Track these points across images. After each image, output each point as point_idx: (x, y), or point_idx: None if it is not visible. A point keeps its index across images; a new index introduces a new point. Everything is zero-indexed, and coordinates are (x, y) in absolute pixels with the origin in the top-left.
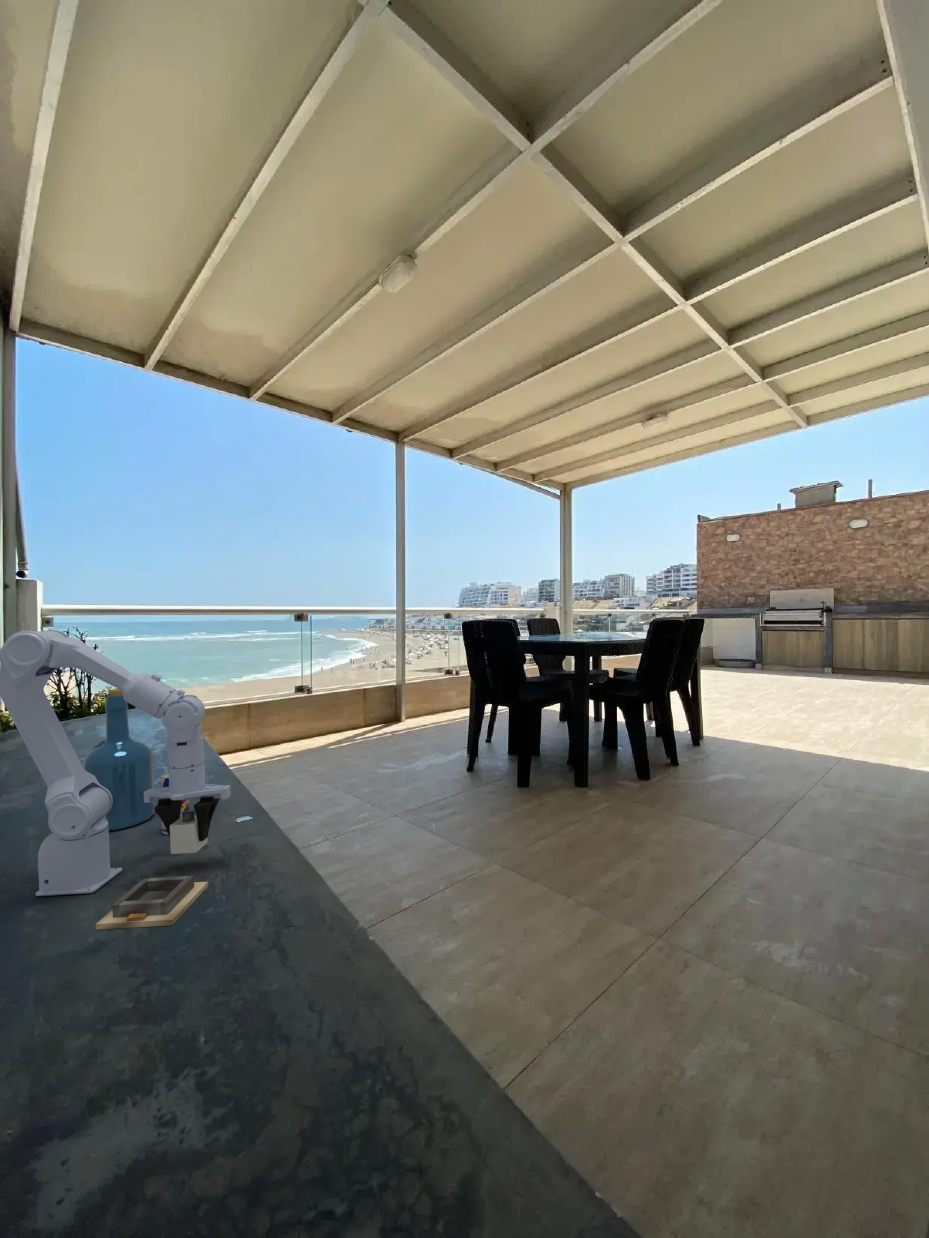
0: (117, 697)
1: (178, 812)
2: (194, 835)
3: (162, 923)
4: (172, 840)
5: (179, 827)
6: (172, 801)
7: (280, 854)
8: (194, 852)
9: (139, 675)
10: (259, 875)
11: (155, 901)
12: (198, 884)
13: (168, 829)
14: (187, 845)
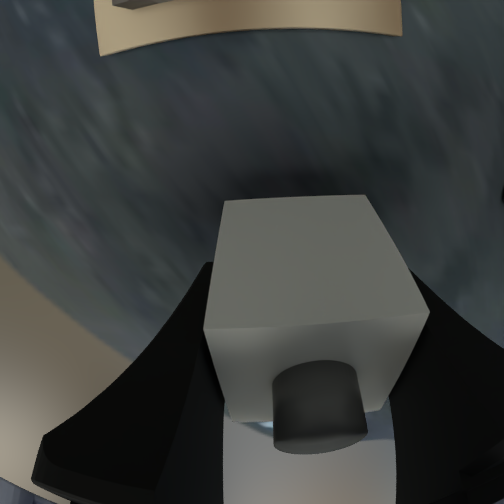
0: None
1: (402, 425)
2: (220, 261)
3: None
4: (376, 236)
5: (347, 305)
6: (454, 496)
7: (40, 276)
8: (233, 200)
9: None
10: (2, 155)
11: None
12: (125, 28)
13: (429, 300)
14: (274, 220)
